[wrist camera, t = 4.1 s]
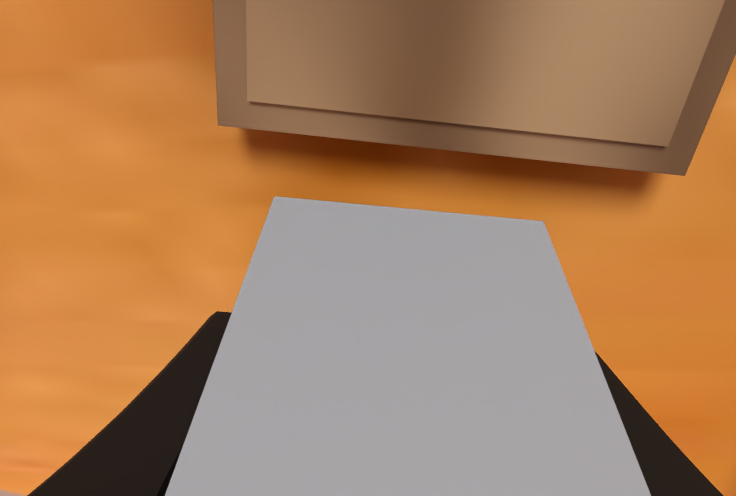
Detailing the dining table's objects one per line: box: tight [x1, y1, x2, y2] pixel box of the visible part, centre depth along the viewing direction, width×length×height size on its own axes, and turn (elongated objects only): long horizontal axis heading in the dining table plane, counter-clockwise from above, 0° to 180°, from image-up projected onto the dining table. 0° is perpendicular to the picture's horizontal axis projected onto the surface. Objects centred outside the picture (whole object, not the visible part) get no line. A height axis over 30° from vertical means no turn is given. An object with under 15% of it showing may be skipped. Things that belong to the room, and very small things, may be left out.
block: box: [165, 196, 651, 496], centre depth 9 cm, size 4×4×6 cm
